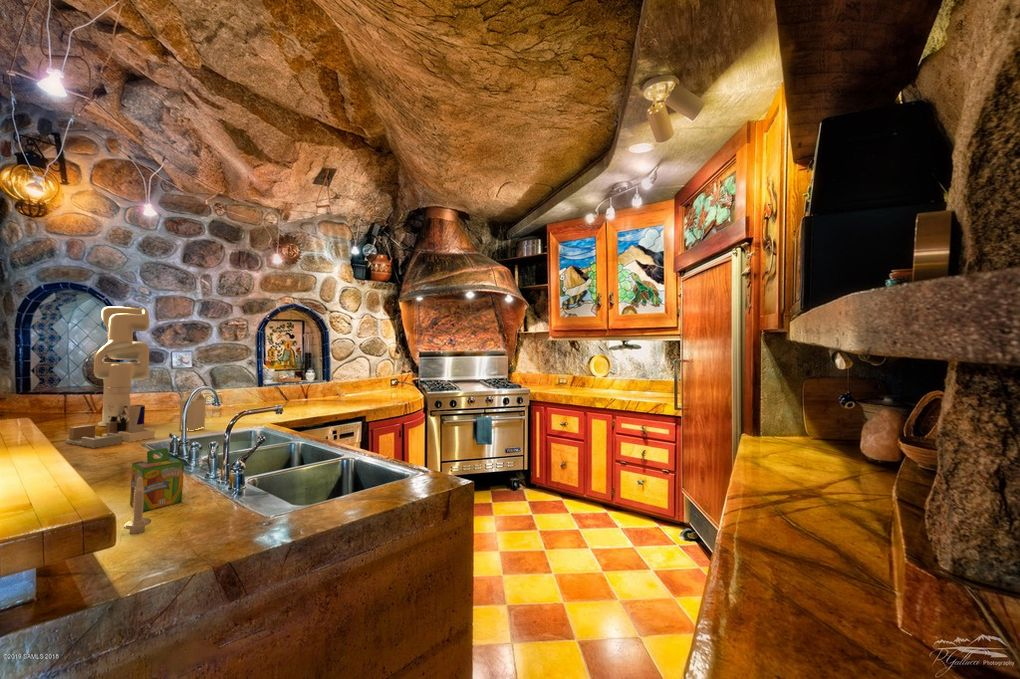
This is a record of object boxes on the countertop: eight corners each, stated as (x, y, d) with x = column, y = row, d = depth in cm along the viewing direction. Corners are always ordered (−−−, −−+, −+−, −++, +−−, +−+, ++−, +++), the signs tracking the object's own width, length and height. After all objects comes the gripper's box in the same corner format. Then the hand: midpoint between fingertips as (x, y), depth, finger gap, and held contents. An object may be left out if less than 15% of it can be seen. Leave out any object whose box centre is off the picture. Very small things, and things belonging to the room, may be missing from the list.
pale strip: (102, 436, 182) (102, 423, 182) (127, 433, 191) (128, 419, 191) (129, 442, 175) (130, 427, 175) (154, 437, 184) (155, 424, 184)
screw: (135, 527, 99) (156, 527, 99) (117, 536, 94) (138, 536, 94) (138, 473, 99) (158, 473, 99) (119, 479, 94) (141, 480, 94)
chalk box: (140, 513, 107) (143, 456, 107) (128, 505, 111) (131, 450, 112) (183, 502, 114) (186, 449, 115) (170, 495, 119) (172, 444, 120)
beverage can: (146, 438, 183) (147, 404, 183) (132, 440, 178) (134, 406, 178) (138, 437, 184) (140, 403, 185) (125, 439, 179) (126, 405, 180)
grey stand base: (65, 442, 171) (66, 427, 171) (94, 438, 179) (94, 424, 179) (93, 448, 164) (94, 432, 164) (121, 443, 172) (122, 428, 173)
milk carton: (193, 431, 198) (195, 392, 198) (178, 431, 198) (180, 392, 198) (204, 428, 205) (206, 391, 205) (190, 428, 205) (192, 390, 205)
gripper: (97, 390, 186) (95, 430, 185) (120, 392, 180) (118, 434, 179) (118, 388, 193) (116, 427, 192) (141, 391, 187) (139, 431, 186)
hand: (117, 430), depth 186 cm, fingers open, 5 cm apart
